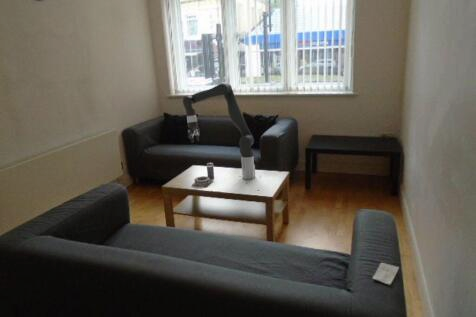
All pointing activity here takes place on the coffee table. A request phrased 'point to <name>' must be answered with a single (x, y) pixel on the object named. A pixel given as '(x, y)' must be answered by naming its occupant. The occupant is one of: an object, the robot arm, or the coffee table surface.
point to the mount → (202, 181)
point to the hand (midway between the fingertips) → (195, 141)
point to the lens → (210, 170)
